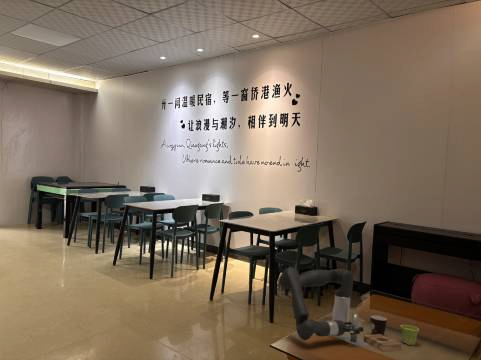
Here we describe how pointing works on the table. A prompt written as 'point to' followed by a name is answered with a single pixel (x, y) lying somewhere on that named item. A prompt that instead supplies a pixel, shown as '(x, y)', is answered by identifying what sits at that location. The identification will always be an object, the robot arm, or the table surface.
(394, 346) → the socket block
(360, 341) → the mat
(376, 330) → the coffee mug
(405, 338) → the plant pot
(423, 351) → the table surface
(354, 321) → the steel pin
